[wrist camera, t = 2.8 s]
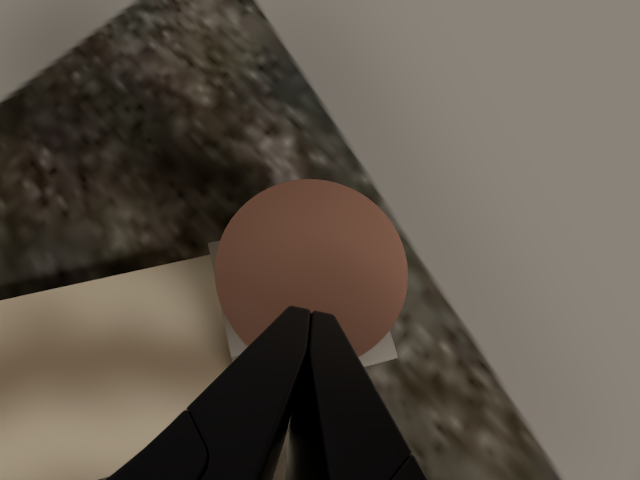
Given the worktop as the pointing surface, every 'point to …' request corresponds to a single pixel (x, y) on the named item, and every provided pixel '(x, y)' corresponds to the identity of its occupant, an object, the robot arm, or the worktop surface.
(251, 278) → the terracotta key
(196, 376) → the stand
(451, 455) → the worktop surface
